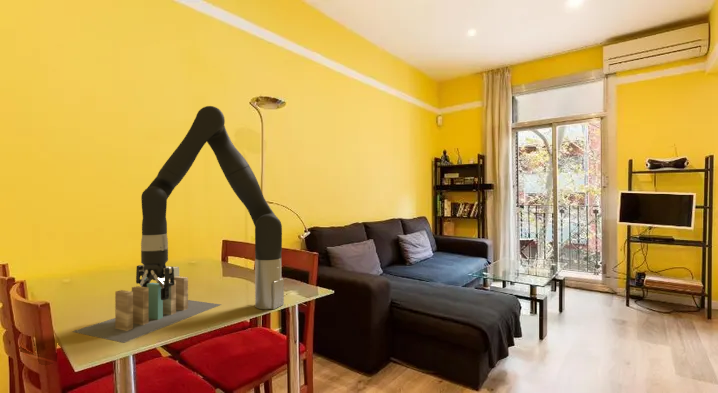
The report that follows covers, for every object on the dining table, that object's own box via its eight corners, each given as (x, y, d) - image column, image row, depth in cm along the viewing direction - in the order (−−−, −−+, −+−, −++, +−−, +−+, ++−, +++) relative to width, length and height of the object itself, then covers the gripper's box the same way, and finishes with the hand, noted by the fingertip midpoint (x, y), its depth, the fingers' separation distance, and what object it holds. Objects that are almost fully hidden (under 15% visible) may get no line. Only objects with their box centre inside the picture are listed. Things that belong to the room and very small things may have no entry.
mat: (221, 305, 127) (221, 304, 127) (123, 344, 94) (123, 342, 94) (176, 299, 135) (176, 298, 135) (72, 332, 102) (72, 331, 102)
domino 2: (137, 321, 110) (137, 286, 110) (148, 323, 108) (148, 287, 109) (131, 322, 109) (131, 287, 109) (143, 325, 107) (143, 289, 107)
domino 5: (177, 307, 124) (177, 276, 124) (188, 308, 122) (188, 277, 122) (173, 308, 123) (173, 277, 123) (183, 310, 121) (183, 278, 121)
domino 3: (157, 319, 111) (157, 285, 112) (146, 317, 113) (146, 283, 113) (162, 317, 113) (162, 283, 113) (151, 316, 115) (151, 282, 115)
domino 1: (121, 326, 106) (121, 290, 106) (132, 328, 104) (132, 291, 104) (115, 328, 104) (115, 291, 104) (126, 330, 102) (127, 293, 102)
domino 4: (165, 311, 120) (165, 279, 120) (175, 313, 118) (175, 280, 118) (160, 313, 118) (160, 280, 118) (171, 314, 116) (171, 281, 116)
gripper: (128, 248, 112) (128, 299, 112) (160, 250, 107) (160, 303, 107) (149, 245, 119) (150, 293, 119) (180, 247, 114) (181, 297, 114)
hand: (155, 298), depth 113 cm, fingers open, 8 cm apart
